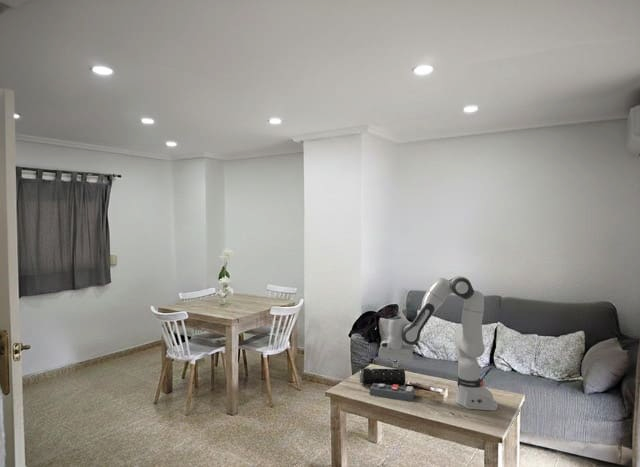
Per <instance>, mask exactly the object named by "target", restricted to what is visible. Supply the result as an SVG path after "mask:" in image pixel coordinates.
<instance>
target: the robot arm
mask: <svg viewBox="0 0 640 467" xmlns="http://www.w3.org/2000/svg"><path fill="white" fill-rule="evenodd" d="M452 294H454V295H455V296H457V297H459V298H462V299H463V306H462V312H461V313H462V314H461V320H460V321H461V326H462V330H459V331H457V332H456V333H455V334H454V336H453V342H454V345H455V352H456V356H457V364H458V365H457V368H458V369H457V371H458V372H457V374H458V375H457V379H456V381H457V382H456V385H457V391H456V392H457V393H456V397H455V400H454V402H456V403H457V404H458V405H460V406H463V407H464V408H465V409H468V410H469V409H470V410H479V411H480V410H481V411H482V410H483V411H494V412H495V411H497V409H498V408H499V403H498V402H497V400H495V398H494V396H493V394H492V392H491V390H489V389H488V388H486V387H485V386H484V381H483V379H482V378H480V364H479V361H478V359H477V358H481V357H482V356H483V354H484V353H485V350H486V349H485V348H486V347H485V344H484V340H483V328H482V327H483V326H482V325H483V318H484V311H485V299H484V298H485V297H484V294H483V293H482V292H480V291H479V290H475V289H474V287H473V286H472V283H471V281H470V280H469V279H468V278H467V277H466V276H462V275H461V276H455V277H453V278H451V279H449V280H448V279H447V278H445V277H444V278H443V277H439V278H437V279H436V280H435V281H434V282H433V283H432V284H431V285H430V287H429V288H428V289H427V290H426V292H425V294H424V296H423V298H422V301H421V306H420V310H419V313H418V314H417V315H416V317H415V318H414V320H413V321H412V322H411V321H409V320H407V319H405V318H404V317H402V316H399V315H398V316H393V317H391V318H390V319H389V321H388V329H387V330H388V331H387V332H388V337H387V339H385V340H382V341H381V342H380V345H379V346H380V347H379V348H378V355H377V356H378V358H379V359H384V360H390V362H391V364H392V368H395V369H399V364H400V362H406V363H407V362H409V363H411V362H412V361H413V360H414V355H413V353H414V347H412V346H411V345H413V346H414V345H416V344H418V342H419V341H420V339H421V332H422V331H423V329H424V327H425V326H426V324H427V323H428V321H429V320H430V318H431V317H432V316H433V315H434V314H435V313H436V312H437V310H438V309H439V308H440V307H441V306H442V305H443V304H444V302H445V300H446V299H447V298H448V297H449V296H450V295H452ZM404 343H405V344H404ZM406 344H407V345H406ZM394 361H396V362H397V363H395V362H394Z"/></svg>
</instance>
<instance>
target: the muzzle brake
mask: <svg viewBox="0 0 640 467" xmlns="http://www.w3.org/2000/svg"><path fill="white" fill-rule="evenodd" d="M358 377H359V384H362V385H369V386H372V385H373V383H377V384H385V385H391V386H393V384H396V385H399V386H404V385H405V384H406V371H405V369H404V368H372V369H371V368H369V367H368V368H366V367H365V368H364V367H363V368H362V369H361V368H360V369H359V376H358Z"/></svg>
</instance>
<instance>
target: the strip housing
mask: <svg viewBox="0 0 640 467" xmlns="http://www.w3.org/2000/svg"><path fill="white" fill-rule="evenodd" d="M378 385H379V384H377V383H373V385H370V387H369V395H370V396H375V397H381V398H388V399H393V400H401V401H407V402H413V401H414V398H415V396H414V394H415V393H416V389H415V388H413V389H412V392H406V389H407V386H406V387H404V386H399V387H398V390H392V386H393V385H385V386H384V387H378ZM415 395H416V394H415Z"/></svg>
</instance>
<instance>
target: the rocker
mask: <svg viewBox="0 0 640 467" xmlns="http://www.w3.org/2000/svg"><path fill="white" fill-rule="evenodd" d="M406 388H407V389H406V392H412V389H414V386H408V385H407V386H406Z"/></svg>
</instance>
